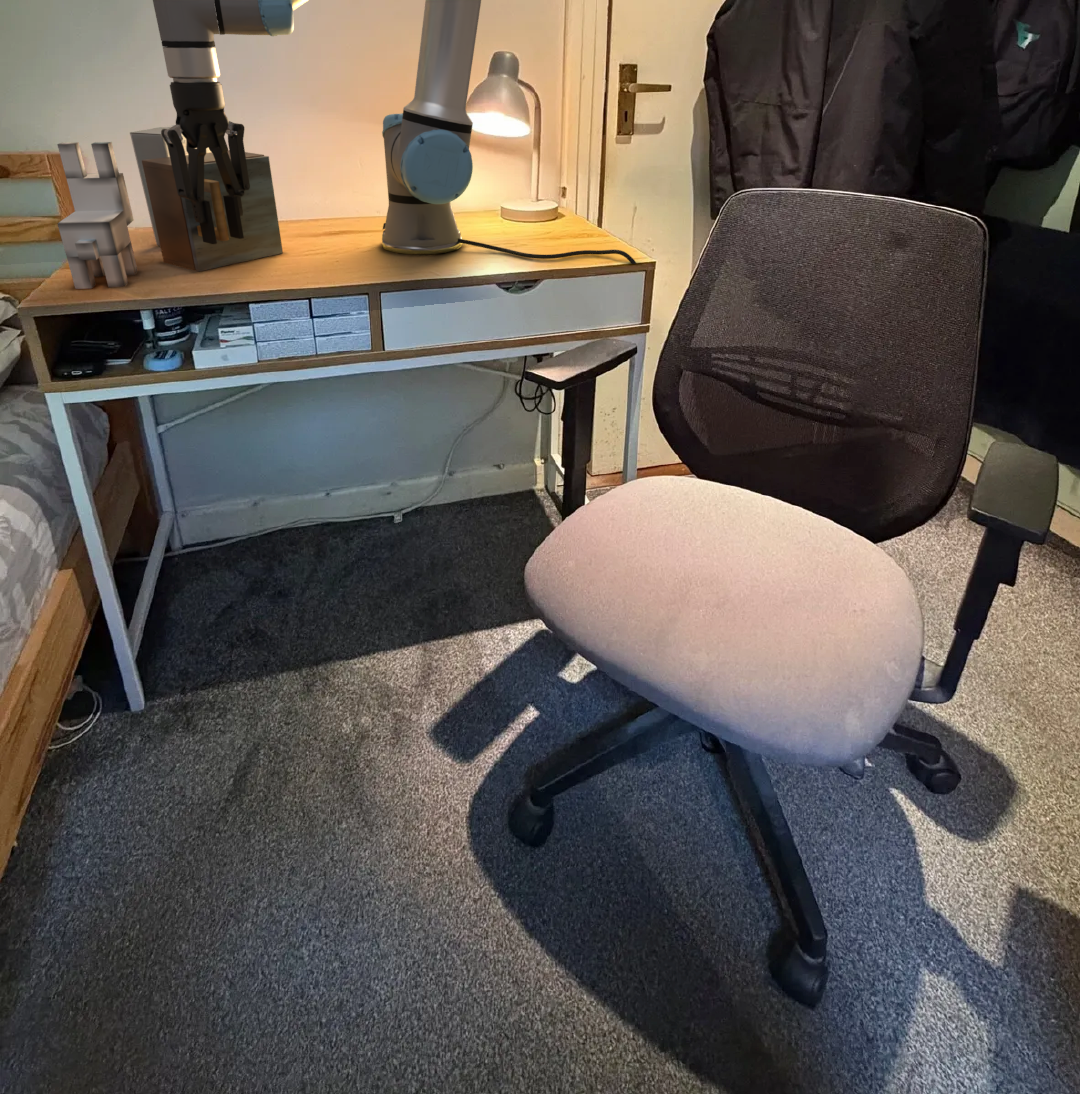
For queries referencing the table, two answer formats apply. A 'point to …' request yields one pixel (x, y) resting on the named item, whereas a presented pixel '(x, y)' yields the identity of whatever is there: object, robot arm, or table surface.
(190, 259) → the cupboard
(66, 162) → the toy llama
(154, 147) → the hard drive box
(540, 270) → the table surface
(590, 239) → the table surface
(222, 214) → the cupboard door
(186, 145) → the robot arm
